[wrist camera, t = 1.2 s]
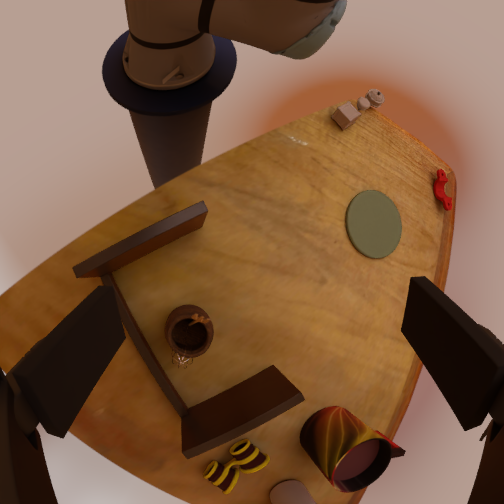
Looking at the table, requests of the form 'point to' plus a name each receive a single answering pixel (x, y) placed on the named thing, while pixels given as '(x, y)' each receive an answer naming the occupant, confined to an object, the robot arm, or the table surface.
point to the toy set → (349, 114)
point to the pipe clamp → (442, 190)
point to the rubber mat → (373, 224)
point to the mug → (346, 448)
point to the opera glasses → (243, 456)
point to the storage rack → (193, 419)
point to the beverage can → (291, 493)
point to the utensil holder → (189, 331)
